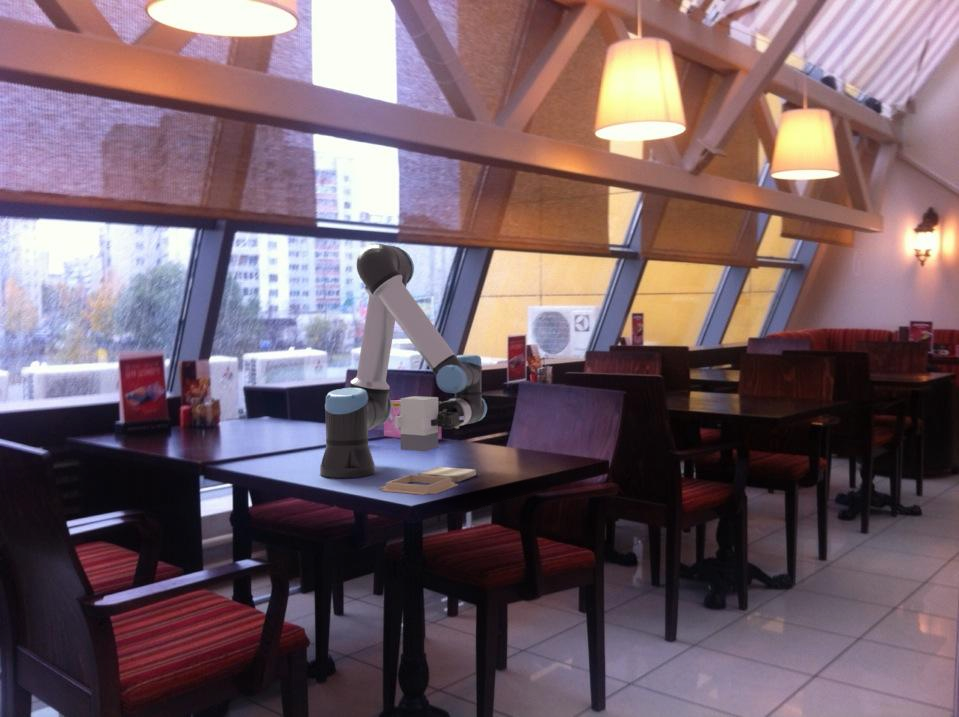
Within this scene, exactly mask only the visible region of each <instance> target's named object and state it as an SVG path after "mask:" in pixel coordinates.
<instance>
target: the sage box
mask: <svg viewBox="0 0 959 717" xmlns="http://www.w3.org/2000/svg"><path fill="white" fill-rule="evenodd" d="M438 401H439V397H438V396H421V395H420V396H418V395H414V396H407V397H402V398H401V438H400V450H401V451H402V450H403V451H414V452H415V451H416V452H428V451H430V450H434V449H435V450H436V449H438V448H439V440H438V425H437V427H434V428H429V429H425V430H422V419H423V418H427V417H432V416H437V419H438Z"/></svg>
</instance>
